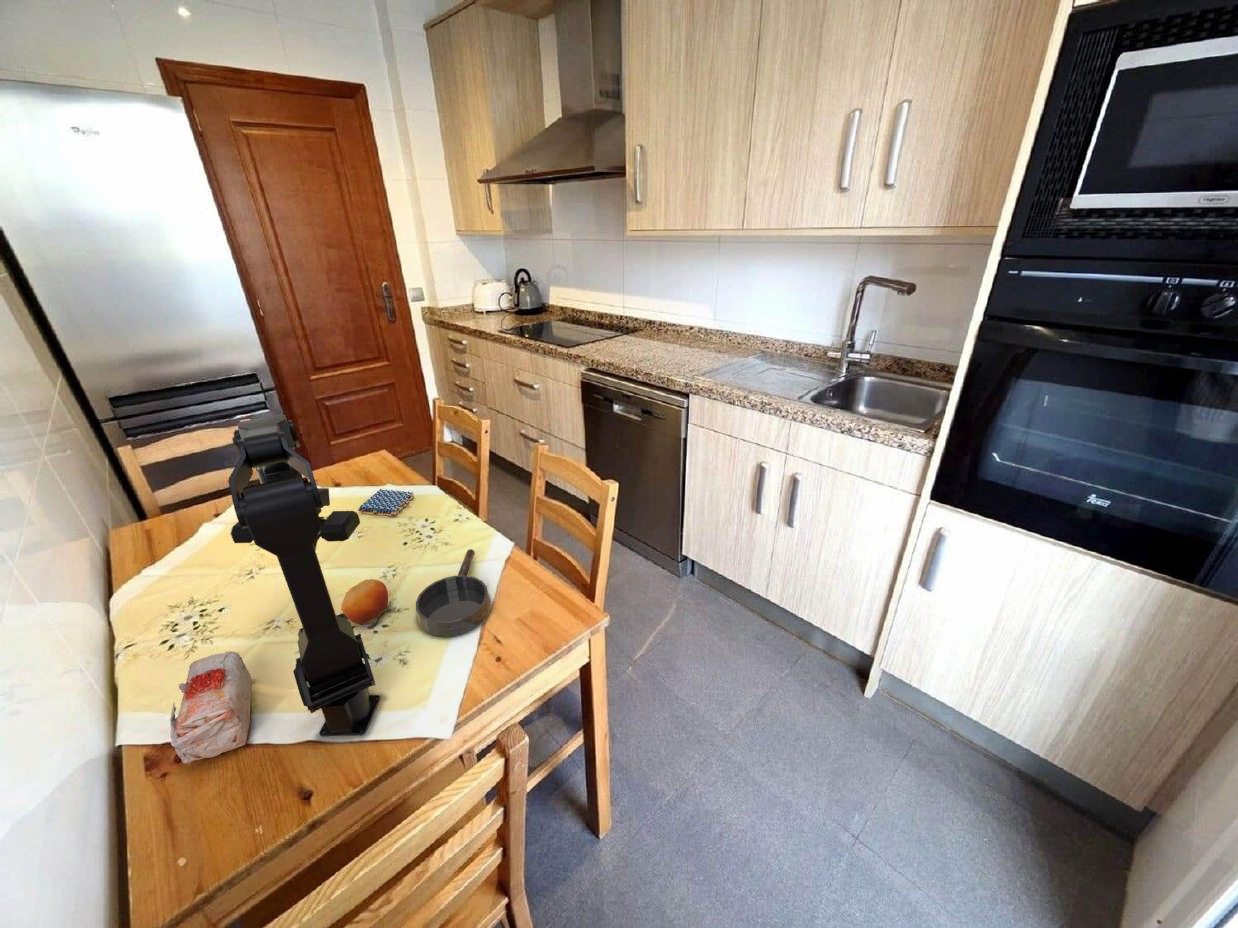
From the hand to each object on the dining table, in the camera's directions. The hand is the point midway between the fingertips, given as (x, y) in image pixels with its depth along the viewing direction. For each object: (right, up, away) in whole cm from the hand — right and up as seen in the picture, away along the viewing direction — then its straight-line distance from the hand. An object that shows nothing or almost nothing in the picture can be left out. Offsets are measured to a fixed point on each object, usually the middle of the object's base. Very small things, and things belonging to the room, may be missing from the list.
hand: (310, 566), depth 90 cm
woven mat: (-5, +7, +41) cm, 42 cm away
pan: (+24, -10, +6) cm, 27 cm away
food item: (-3, -21, -15) cm, 26 cm away
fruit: (+8, -10, +6) cm, 14 cm away
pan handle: (+23, -4, +15) cm, 28 cm away
